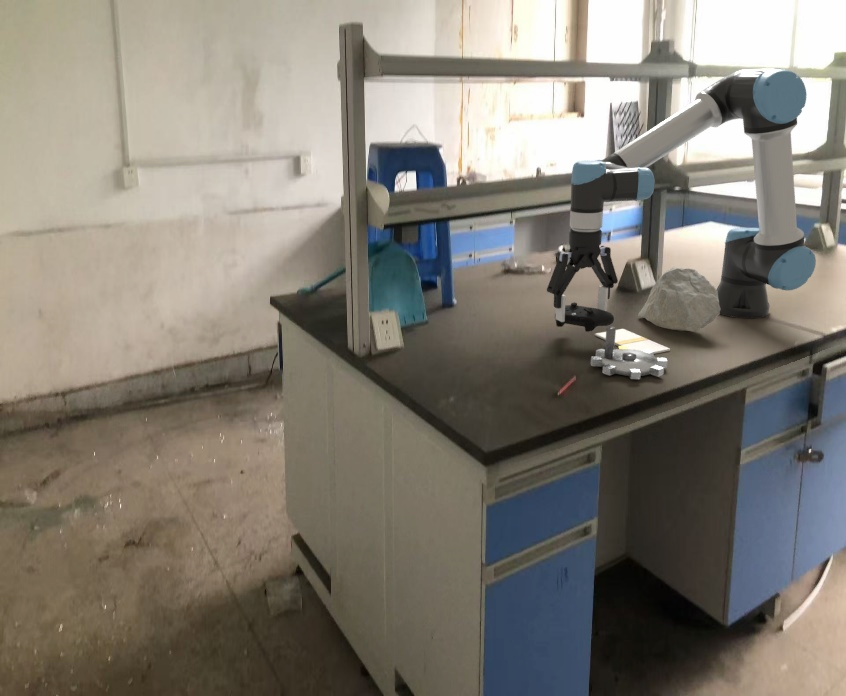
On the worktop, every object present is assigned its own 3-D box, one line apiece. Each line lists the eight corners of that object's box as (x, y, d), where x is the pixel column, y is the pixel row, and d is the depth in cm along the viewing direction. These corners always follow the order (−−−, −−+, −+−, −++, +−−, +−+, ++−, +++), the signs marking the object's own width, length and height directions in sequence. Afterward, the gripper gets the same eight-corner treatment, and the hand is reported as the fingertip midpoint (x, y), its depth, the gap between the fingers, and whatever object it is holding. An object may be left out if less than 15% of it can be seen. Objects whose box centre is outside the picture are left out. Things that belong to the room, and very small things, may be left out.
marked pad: (622, 330, 203) (623, 328, 202) (669, 350, 188) (670, 348, 188) (594, 335, 199) (594, 333, 199) (640, 356, 185) (640, 354, 184)
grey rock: (727, 336, 199) (735, 278, 194) (690, 345, 192) (698, 285, 187) (659, 313, 217) (665, 259, 212) (624, 321, 210) (629, 266, 205)
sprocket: (587, 351, 186) (589, 316, 183) (659, 354, 184) (663, 318, 182) (594, 378, 170) (597, 339, 167) (673, 381, 169) (678, 342, 166)
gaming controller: (617, 305, 192) (599, 309, 184) (615, 330, 193) (597, 334, 185) (565, 297, 200) (546, 301, 192) (563, 321, 201) (544, 325, 194)
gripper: (616, 220, 194) (610, 305, 201) (533, 231, 184) (531, 319, 191) (636, 225, 187) (630, 312, 195) (552, 237, 177) (549, 328, 185)
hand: (581, 316), depth 193 cm, fingers closed on gaming controller, 12 cm apart
